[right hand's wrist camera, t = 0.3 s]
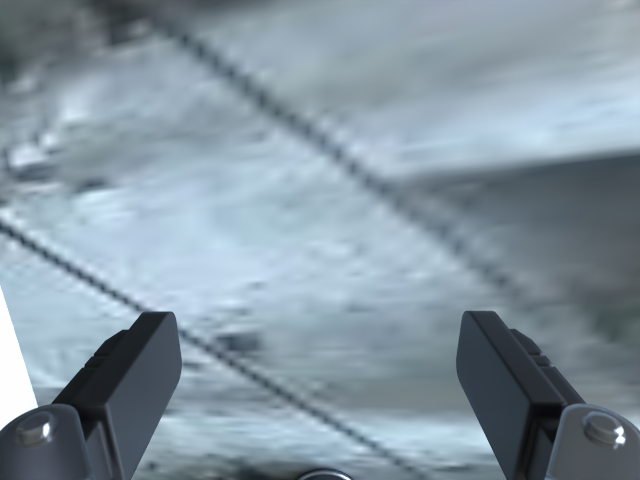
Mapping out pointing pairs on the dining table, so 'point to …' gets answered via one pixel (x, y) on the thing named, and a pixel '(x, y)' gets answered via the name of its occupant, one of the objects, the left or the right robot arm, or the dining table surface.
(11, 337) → the box
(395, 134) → the dining table surface
